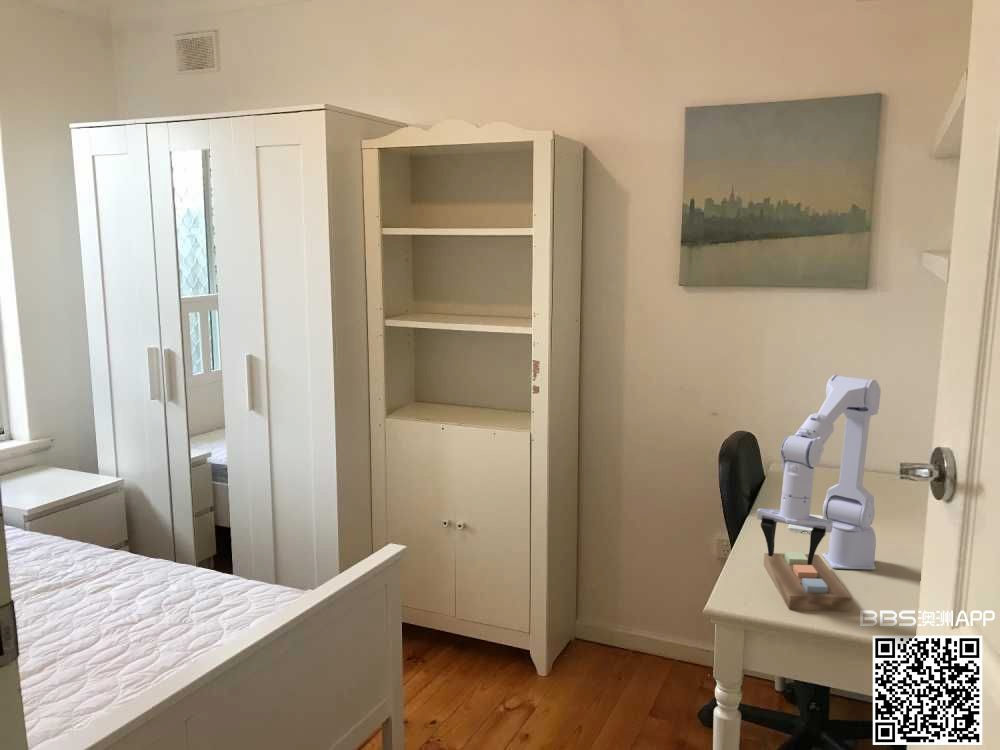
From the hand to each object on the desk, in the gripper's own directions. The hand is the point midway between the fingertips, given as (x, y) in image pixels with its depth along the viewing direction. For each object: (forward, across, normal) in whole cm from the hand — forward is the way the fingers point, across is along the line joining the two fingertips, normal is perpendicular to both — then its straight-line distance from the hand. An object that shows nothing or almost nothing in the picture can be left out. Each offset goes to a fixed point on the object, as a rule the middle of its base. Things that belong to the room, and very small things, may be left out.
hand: (790, 559), depth 167 cm
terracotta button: (+7, +2, +9) cm, 12 cm away
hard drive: (+7, -3, +49) cm, 49 cm away
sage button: (+6, -1, +16) cm, 17 cm away
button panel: (+9, +2, +9) cm, 13 cm away
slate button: (+7, +5, +3) cm, 9 cm away
